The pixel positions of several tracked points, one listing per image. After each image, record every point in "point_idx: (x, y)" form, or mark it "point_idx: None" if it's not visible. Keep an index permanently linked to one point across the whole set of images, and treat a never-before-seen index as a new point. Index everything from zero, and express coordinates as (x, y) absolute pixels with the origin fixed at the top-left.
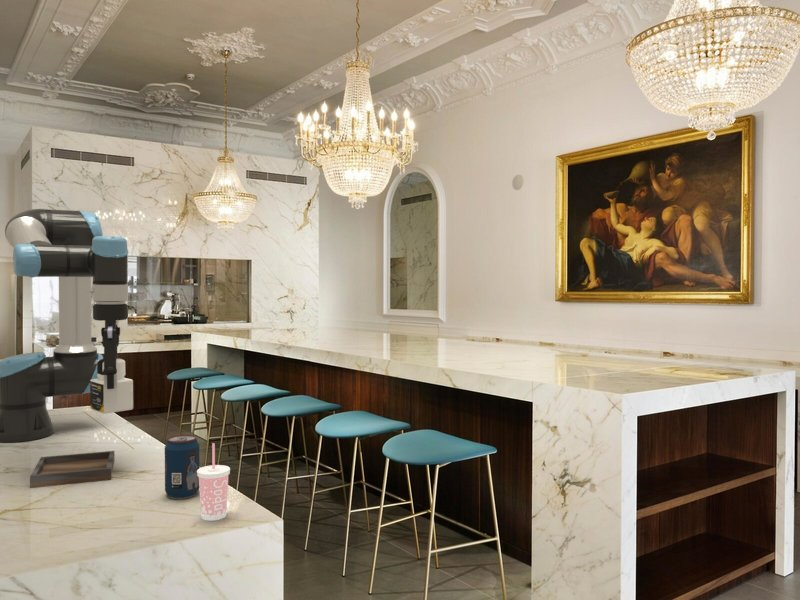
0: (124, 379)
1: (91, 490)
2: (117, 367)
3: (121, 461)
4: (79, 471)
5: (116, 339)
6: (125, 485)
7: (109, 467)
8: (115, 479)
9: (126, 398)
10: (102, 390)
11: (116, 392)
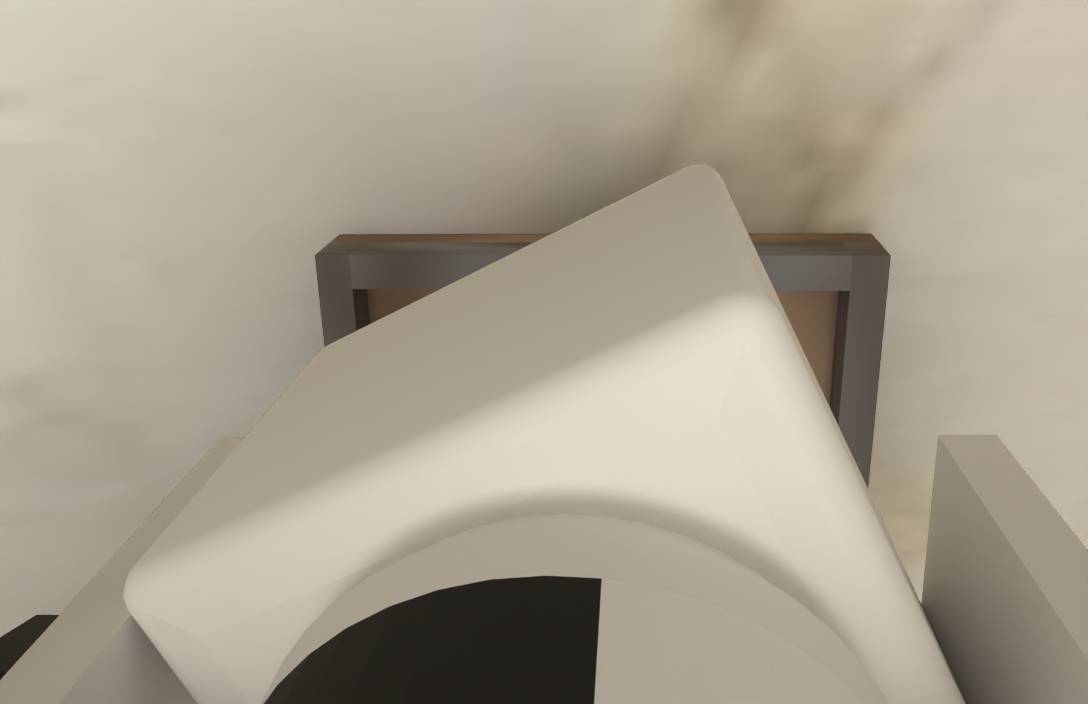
0: (779, 502)
1: (1081, 347)
2: None
3: (372, 181)
4: (866, 467)
5: None
6: (1080, 122)
7: (848, 268)
8: (876, 202)
9: (781, 307)
10: None
11: (1069, 534)
